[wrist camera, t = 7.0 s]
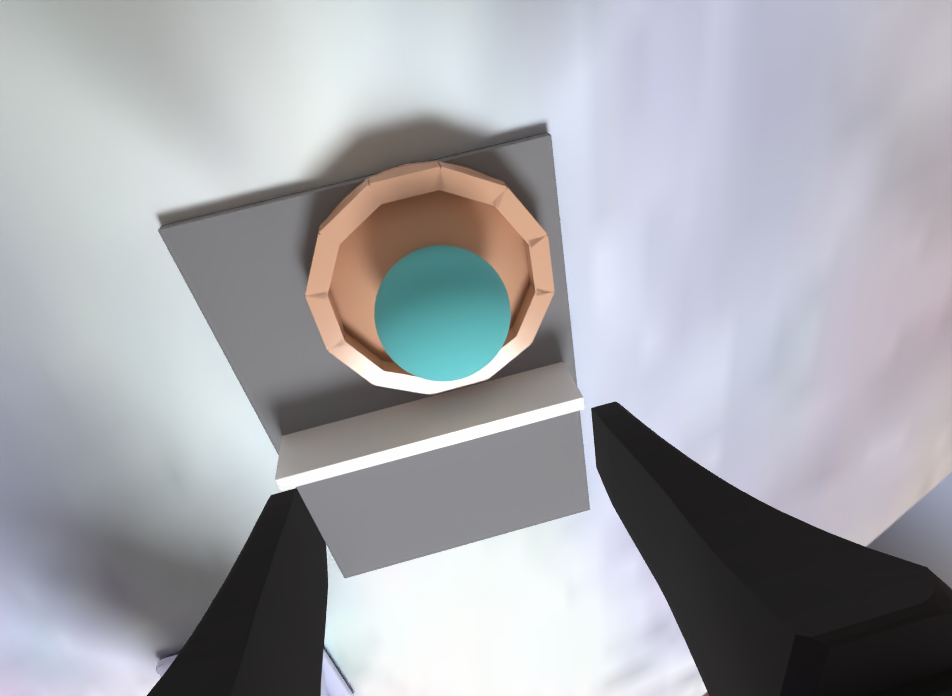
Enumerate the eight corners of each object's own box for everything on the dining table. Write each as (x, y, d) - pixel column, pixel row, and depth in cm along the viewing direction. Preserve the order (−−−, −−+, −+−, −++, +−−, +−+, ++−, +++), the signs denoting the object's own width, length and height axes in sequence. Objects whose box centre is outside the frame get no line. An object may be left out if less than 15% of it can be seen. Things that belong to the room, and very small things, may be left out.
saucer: (553, 343, 23) (562, 359, 22) (353, 396, 23) (353, 415, 22) (527, 134, 18) (537, 142, 17) (273, 195, 18) (268, 207, 17)
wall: (564, 372, 24) (584, 408, 22) (287, 446, 23) (281, 491, 21) (562, 361, 24) (583, 397, 21) (281, 436, 23) (274, 480, 21)
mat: (587, 503, 29) (589, 509, 29) (344, 571, 29) (344, 578, 28) (547, 132, 19) (551, 135, 18) (161, 226, 18) (158, 230, 18)
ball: (503, 320, 21) (535, 387, 18) (391, 351, 21) (400, 425, 17) (482, 211, 19) (514, 262, 15) (355, 244, 19) (357, 303, 15)
